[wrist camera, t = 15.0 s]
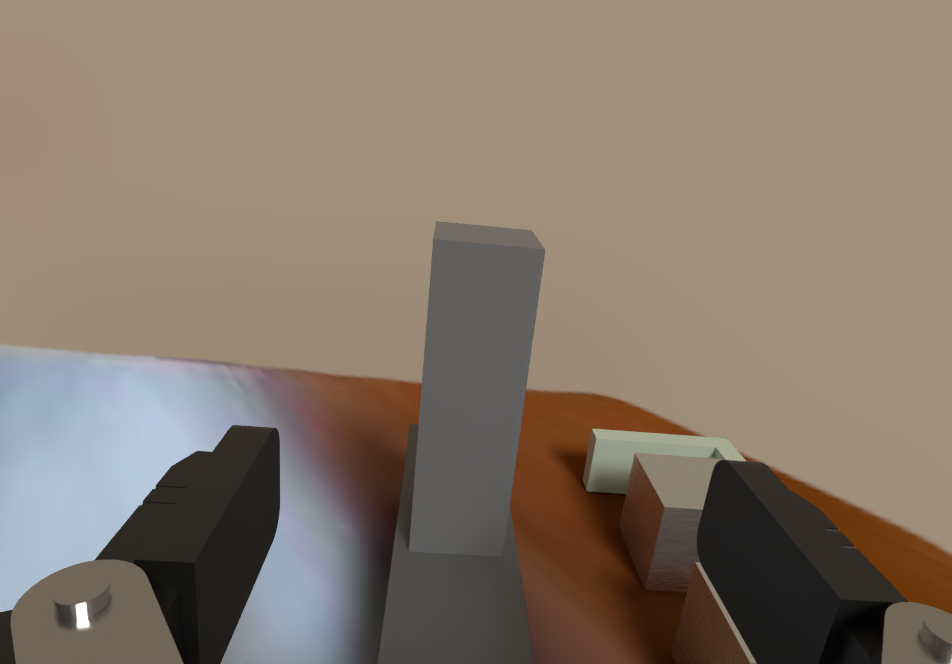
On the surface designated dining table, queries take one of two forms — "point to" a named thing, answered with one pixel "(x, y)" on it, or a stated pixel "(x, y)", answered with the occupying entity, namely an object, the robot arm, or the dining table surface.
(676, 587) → the grey cube block
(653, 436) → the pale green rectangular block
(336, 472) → the dining table surface
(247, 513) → the robot arm
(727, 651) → the beige cube
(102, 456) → the dining table surface
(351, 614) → the dining table surface
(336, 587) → the dining table surface
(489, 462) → the gray t-shaped block
